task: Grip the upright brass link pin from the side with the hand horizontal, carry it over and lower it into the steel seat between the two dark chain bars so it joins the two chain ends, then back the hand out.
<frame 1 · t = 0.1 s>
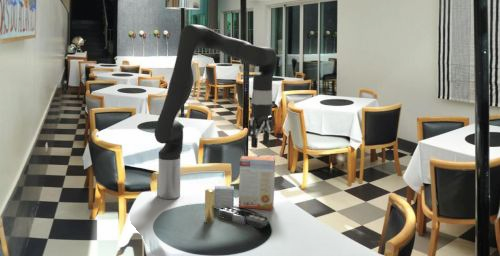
hand: (260, 145, 168), 29 cm above the table, tool pointing down, fingers open, 8 cm apart
chain right: (256, 224, 169), on the table
link seat: (243, 220, 172), on the table
link pin: (209, 221, 170), on the table
medicine box: (223, 208, 185), on the table
cracker box: (256, 207, 187), on the table
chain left: (229, 217, 175), on the table
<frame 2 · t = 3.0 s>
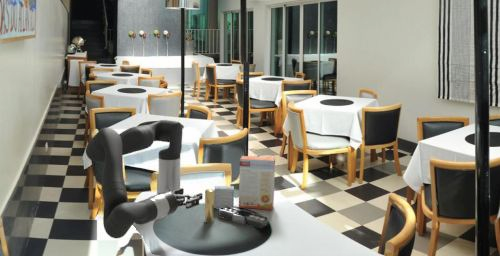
hand: (192, 193, 159), 14 cm above the table, tool horizontal, fingers open, 8 cm apart
nothing on the table moved.
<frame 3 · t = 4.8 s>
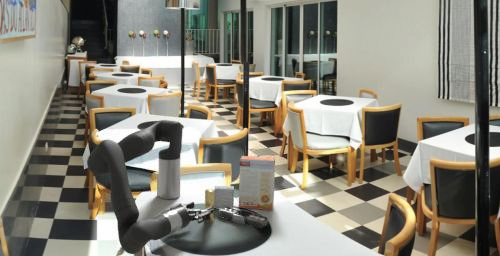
hand: (202, 207, 165), 7 cm above the table, tool horizontal, fingers open, 8 cm apart
nothing on the table moved.
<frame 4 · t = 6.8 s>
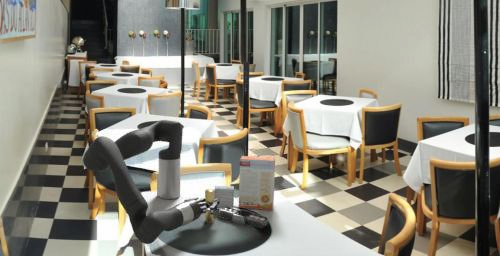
hand: (214, 200, 171), 8 cm above the table, tool horizontal, fingers closed on link pin, 3 cm apart
link pin: (209, 221, 170), on the table, touching gripper
everything else where it was.
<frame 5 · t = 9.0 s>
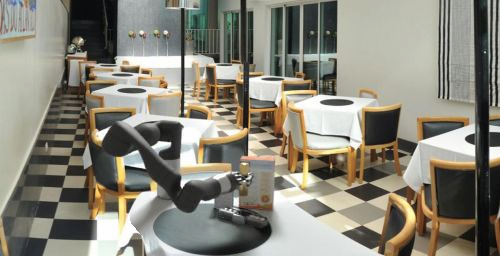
hand: (248, 174, 171), 18 cm above the table, tool horizontal, fingers closed on link pin, 3 cm apart
link pin: (243, 194, 170), point 10 cm above the table, touching gripper
everything else where it was.
when the fingers open (8 cm above the table, at t = 11.6 s): link pin stays where it is, on the table.
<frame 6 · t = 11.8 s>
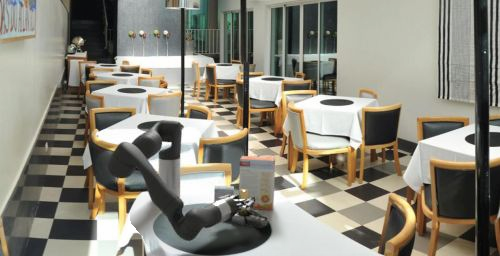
hand: (247, 197, 172), 8 cm above the table, tool horizontal, fingers open, 5 cm apart
link pin: (242, 220, 172), on the table
everything else where it was.
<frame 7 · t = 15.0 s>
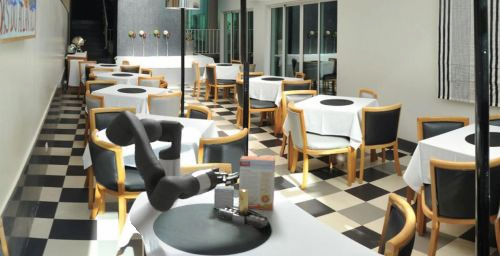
hand: (228, 172, 159), 21 cm above the table, tool horizontal, fingers open, 8 cm apart
nothing on the table moved.
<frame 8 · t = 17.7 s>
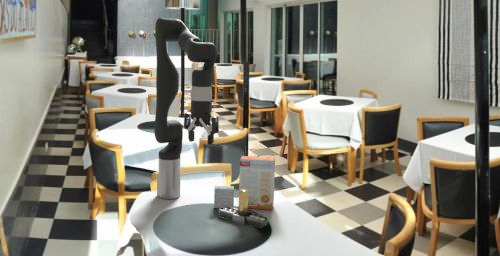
hand: (200, 142, 165), 30 cm above the table, tool pointing down, fingers open, 8 cm apart
nothing on the table moved.
at the end: link pin 0.1 cm from the target spot, on the table; link pin tilted 0°; the gripper is holding nothing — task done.
